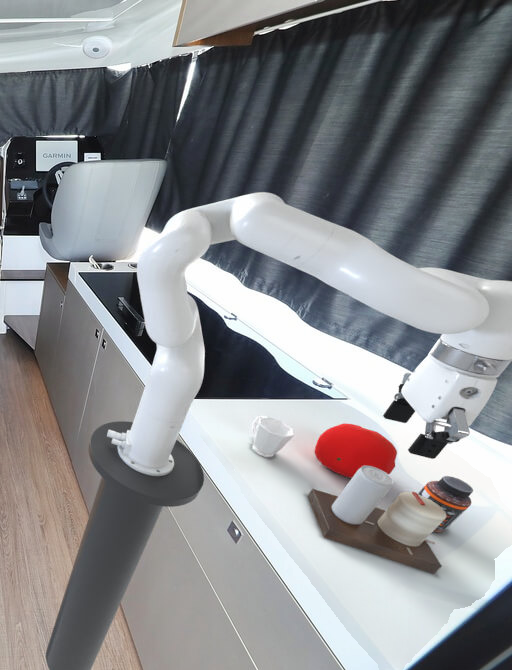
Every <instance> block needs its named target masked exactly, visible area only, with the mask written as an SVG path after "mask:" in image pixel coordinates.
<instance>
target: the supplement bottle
mask: <svg viewBox="0 0 512 670" xmlns="http://www.w3.org/2000/svg"><path fill="white" fill-rule="evenodd" d="M473 492H474V489H473V487H472V486H471V485H470V484H468V483H467V482H465V481H464V480H461V479H460V478H457V477H454V476H450V475H443V476H442V477H441V478H440V479H439V480H431V481H429V482H427V483H426V484H425V485H424V486H423V487H422V488H421V489H420V491H418V492H417V494H418V495H421V496H423V497H426V498H428V499H429V500H431V501H433V502H434V503H436V504H437V505H439V506H440V507H441V508H442V509H443V510H444V511H445V513H446V518H445V519H444V520H443V521H442V523H441V524H440V525H439V526H438V527H437V528H436V529H435V530H434V531H433V532H435V533H442V532H445V531H447V529H448V528H450V526H452V524H453V523H455V521H456V520H458V519H459V518H460V516H462V515H463V514H464V513H465V512H466V511H467V510H468V509H469V508H470V507H471V505H472V499H471V497H470V496H471V494H473Z"/></svg>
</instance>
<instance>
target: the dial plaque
mask: <svg viewBox="0 0 512 670" xmlns="http://www.w3.org/2000/svg"><path fill="white" fill-rule="evenodd" d="M338 496H339V495H335V494H332V493H328V492H325V491H321V490H319V489H315V488H312V489H311V490H310V492H309V493H308V495H307V498H308V499H307V500H308V502H309V504H310V507H311V510H312V511H313V514H314V517H315V519H316V522H317V524H318V527H319V530H320V532H321V535H322V537H323V538H324V539H327V540H330V541H333V542H336V543H339V544H342V545H345V546H347V547H348V546H349V547H351V548H354V549H357V550H360V551H362V552H366V553H369V554H372V555H375V556H377V557H378V556H379V557H381V558H384V559H387V560H390V561H393V562H397V563H399V564H402V565H405V566H408V567H411V568H414V569H416V570H420V571H423V572H426V573H429V574H433V575H434V574H436V573H437V571H439V570H440V569H441V568H442V566H443V565H442V564H441V562H440V561H439V559H438V558H437V556H436V554H435V553H434V551H433V550H432V548H431V546H430V545H429V544H432V545H436V543H435V541H432V540H428V539H425V540H424V541H423V543H422V544H421V545H420V546H415V547H414V546H408V545H405V544H402V543H400V542H398V541H396V540H394V539H392V538H391V537H389V536H388V535H387V534H385V533H384V532H383V531H382V530H381V529H380V527H379V526H378V520H379V519H380V517H381V516H382V515H383V514H384V513H385V511H386V510H387V509H386V510H385V509H382V508H379V507H377V506H376V507H375V509H374V510H373V511H372V512H371V513H370V514H369V516H368V517H367V518H366V519H365V520H364V522H363V523H361V524H356V525H354V524H349V523H346V522H344V521H342V520H341V519H339V518H338V517H337V516H336V515H335V514H334V513H333V511H332V505H333V503H334V502H335V500H336V499H337V498H338Z"/></svg>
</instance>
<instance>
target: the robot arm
mask: <svg viewBox="0 0 512 670" xmlns="http://www.w3.org/2000/svg"><path fill="white" fill-rule="evenodd" d="M164 225H165V226H164V227H163V230H162V232H161V233H159V234H158V235H157V236H156V237H154V238H153V240H151V241H150V242H149V243H148V244H147V245H146V246H145V248H144V249H143V250H142V252H141V254H140V255H139V257H138V260H137V265H136V278H137V283H138V289H139V295H140V303H141V308H142V314H143V318H144V319H143V320H144V326H145V330H146V333H147V335H148V336H149V338H150V339H151V341H152V342H154V343H155V344H156V351H155V355H154V357H153V361H152V364H151V368H150V371H149V374H148V378H147V380H146V383H145V386H144V388H143V392H142V394H141V398H140V401H139V404H138V407H137V410H136V413H135V416H134V418H133V421H132V422H133V424H132V427H131V430H127V433H123V432H122V434H121V433H118V432H115V431H112V430H108V434H107V437H110V438H113V439H112V443H111V444H115V445H118V449H117V450H118V454H119V455H120V457H121V459H122V460H123V461H124V462H125V463H126V464H127V465H129V466H130V467H131V468H133V469H135V470H136V471H138V472H141V473H143V474H146V475H151V476H164V475H167V474H169V473H170V472H171V471H172V469H173V467H174V460H173V457H172V455H171V451H172V449H173V447H174V444H175V442H176V440H178V437H179V435H180V432H181V429H182V428H183V425H184V423H185V421H186V418H187V415H188V412H189V410H190V408H191V406H192V404H193V403H194V400H195V398H196V396H197V394H198V393H199V391H200V389H201V387H202V384H203V380H204V376H205V375H204V374H205V357H206V354H205V353H206V350H205V344H204V343H205V342H204V338H203V331H202V324H201V319H200V314H199V313H200V312H199V308H198V305H197V302H196V301H195V299H194V298H193V297H192V296H191V295H190V294H189V293H188V285H187V280H186V276H185V273H186V270H187V269H188V267H189V266H190V265H192V264H193V263H195V262H197V260H199V259H200V258H202V257H203V256H204V255H205V254H206V252H208V249H209V248H210V246H211V245H216V244H220V243H226V242H230V241H234V240H236V241H237V242H239V243H240V244H242V245H243V246H245V247H247V248H250V249H252V250H254V251H256V252H258V253H260V254H263V255H265V256H268V257H269V258H272V259H274V260H277V261H279V262H281V263H283V264H286V265H288V266H291V267H293V268H295V269H297V270H299V271H301V272H304V273H306V274H308V275H311V276H312V277H315V278H316V279H318V280H320V281H321V282H323V283H325V284H326V285H328V286H329V287H332V288H334V289H336V290H338V291H340V292H341V293H343V294H345V295H347V296H349V297H351V298H353V299H354V300H357V301H359V302H360V303H362V304H364V305H366V306H368V307H370V308H372V309H373V310H376V311H377V312H380V313H381V314H384V315H386V316H388V317H390V318H394V319H395V320H397V321H399V322H402V323H404V324H407V325H409V326H411V327H413V328H415V329H419V330H421V331H424V332H427V333H431V334H436V335H437V334H438V335H440V337H439V338H438V340H437V341H436V342H435V344H434V345H433V347H432V348H431V349H430V351H429V352H428V354H427V356H426V357H425V358H424V359H423V360H422V361H421V362H420V363H419V364H418V365H417V366H416V368H414V370H413V371H412V372H411V373H410V372H405V373H404V374H403V377H402V380H401V383H400V384H399V385H398V392H397V393H395V394H394V396H393V399H394V400H392V402H391V403H390V405H389V406H388V408H387V409H385V412H384V413H383V415H382V416H383V419H385V420H389V421H394V422H397V423H401V424H402V423H403V424H407V423H408V422H409V421H410V419H411V418H412V417H413V416H414V414H415V413H416V414H417V415H418V416H419V417H420V418H421V419H422V420H423V421H425V428H424V433H420V434H419V435H418V436H417V438H416V439H415V440H414V441H413V443H411V445H410V446H409V448H408V449H407V451H408V453H409V454H411V455H415V456H419V457H423V458H427V459H432V460H434V459H436V458H437V457H438V455H440V453H441V452H442V451H443V450H444V449H445V447H446V446H447V445H448V444H449V445H452V444H453V443H458V442H460V440H462V439H465V438H467V437H469V436H470V435H471V432H470V428H469V427H470V426H471V425H472V424H473V422H474V421H475V420H476V419H477V417H478V416H479V414H480V413H481V412H482V411H483V409H484V408H485V406H486V404H487V403H488V401H489V399H490V398H491V396H492V394H493V392H494V391H495V388H496V386H497V383H498V377H500V376H501V374H502V373H503V372H504V371H505V370H506V368H508V366H509V365H510V364H511V363H512V280H511V281H510V280H499V279H497V280H496V279H492V280H491V279H486V278H483V277H478V276H473V275H470V274H466V273H461V272H457V271H454V270H450V269H446V268H442V267H441V268H440V267H426V266H425V267H417V266H414V265H412V264H410V263H407V262H406V261H404V260H402V259H400V258H398V257H396V256H394V255H393V254H391V253H389V252H388V251H386V250H385V249H383V248H382V247H380V246H379V245H378V244H376V243H375V242H373V241H372V240H371V239H369V238H367V237H366V236H364V235H362V234H360V233H358V232H356V231H355V230H352V229H350V228H347V227H345V226H342V225H340V224H337V223H335V222H331V221H329V220H326V219H324V218H322V217H320V216H316V215H314V214H311V213H308V212H307V211H304V210H302V209H300V208H297V207H294V206H291V205H289V204H286V203H285V201H284V200H283V199H282V198H281V197H280V196H278V195H276V194H275V193H271V192H265V191H261V192H252V193H248V194H244V195H240V196H236V197H232V198H228V199H224V200H221V201H216V202H213V203H208V204H204V205H200V206H196V207H192V208H188V209H185V210H182V211H180V212H178V213H176V214H174V215H173V216H172V217H171V218H169V220H168V221H167V222H166V224H164ZM440 420H441V421H440ZM442 420H445V421H446V422H445V421H442ZM437 427H443V429H444V430H443V431H442V430H441V431H436V428H437ZM119 440H120V441H119Z"/></svg>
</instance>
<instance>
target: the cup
mask: <svg viewBox="0 0 512 670" xmlns="http://www.w3.org/2000/svg"><path fill="white" fill-rule="evenodd" d="M251 427H252V429H251V430H252V436H253V444H252V451H253V452H255V453H256V454H257V455H259V456H261V457H265V458H273V457H274V454H277V453H278V452H279V451H280V450H282V449H283V448H284V447H285V446H286V445H287V444H288V442H289V441H290V440H292V438H293V437H294V436H295V434H294V429H293V428H292V427H291V426H289V424H287V423H285V422H284V421H283V420H279V419H276V418H272V417H269V416H264V415H258V416H256V418H255V419H254V421H253V422H252V426H251Z"/></svg>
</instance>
